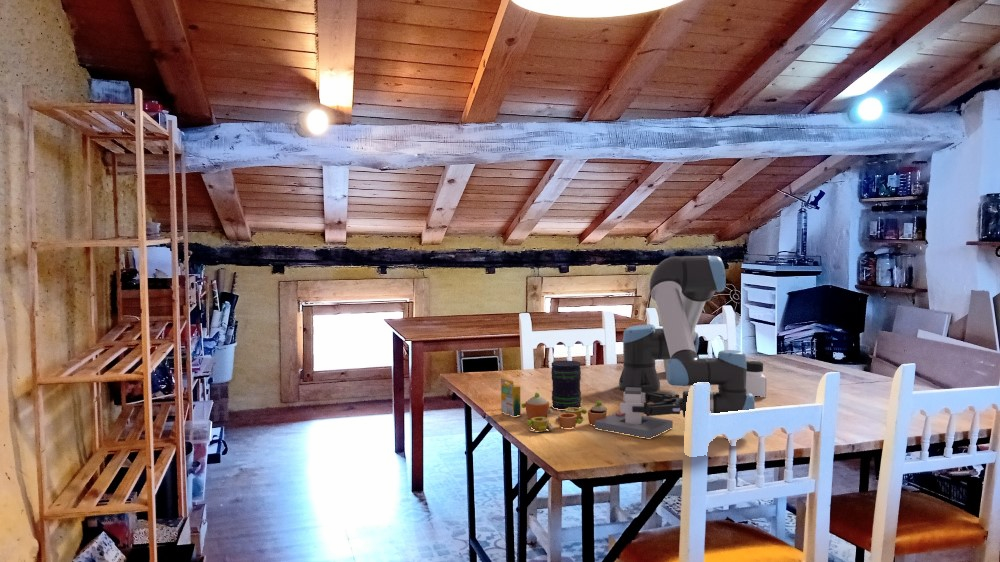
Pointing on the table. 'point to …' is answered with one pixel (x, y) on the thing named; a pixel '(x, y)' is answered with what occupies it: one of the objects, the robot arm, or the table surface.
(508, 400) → the crayon box
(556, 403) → the storage jar
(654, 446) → the table surface
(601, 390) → the table surface
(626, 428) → the socket
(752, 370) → the medicine bottle
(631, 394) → the plug
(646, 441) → the table surface
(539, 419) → the toy tea set
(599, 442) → the table surface
